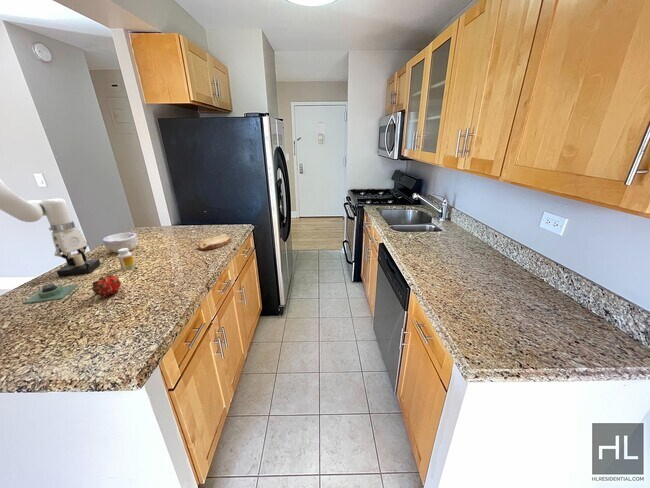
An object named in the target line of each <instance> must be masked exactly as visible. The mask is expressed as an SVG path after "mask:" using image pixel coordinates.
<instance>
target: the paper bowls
mask: <svg viewBox="0 0 650 488" xmlns="http://www.w3.org/2000/svg"><path fill="white" fill-rule="evenodd" d="M102 242H103V245H104V248H105V249H106V250H110V251H111V252H113V253H117V254H119V253H118V250H119V249H122V248H128V250H129V251H131V250H133V249H134V248H135V246H136V245H138V243H139V240H138V236H137V234H136V233H134V232H120V233H115V234H110V235H108V236H105V237H104V238H103V239H102Z"/></svg>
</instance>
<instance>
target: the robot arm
mask: <svg viewBox="0 0 650 488" xmlns="http://www.w3.org/2000/svg"><path fill="white" fill-rule="evenodd" d="M0 210H1V211H2V212H4V213H6V214H8V215H9V216H11V217H12V218H15V219H17V220H19V221H21V222H25V223H35V222H38V221H39V220H41V219H42V217H44V216H45V217H46V218H47V220H48V223H49V225H50V226H49V227H48V230H49V231H51V237H52V242H53V245H54V248H55V252H54V254H53V255H54V257H60V258H62V259H65V262H66V264H68V265H69V266H76V264H75V262H74V259H73V258H71V255H72V253H73V252H75V251H76V252H77V253H80V254H81V255H82V258H83V260H84V261H87V260H88V259H87V256H86V254H85V253H86V249H87V247H88V246H89V244H90V243H89V242H88V241H86V239H85V236H84V234H83V233H82V231H81V229H80V228H79V227H78V226H76V224H75V222H74V219H73V217H72V213H71V212H70V208H69V206H68V203H67V202H66V200H65V199H64V198H60V197H59V198H54V197H53V198H48V199H37V200H36V199H29V200H28V199H27V200H26V199H25V198H24V197H22V196H20V195H18V194H17V193H16V192H14V191H13V190H11V189H10V188H9V186H7V185H6V184H5V182H4V181H3V179H1V178H0Z"/></svg>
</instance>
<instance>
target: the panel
mask: <svg viewBox="0 0 650 488" xmlns="http://www.w3.org/2000/svg"><path fill="white" fill-rule="evenodd" d="M84 263H85V264H84V265H81V266H78V267H73V266H69V265H68V264H67V263H66V264H65V265H63V266H61V267H60V268H59V269H57V270H56V275H57V277H59V278H63V277H72V276H82V275H89V274H91V273H93V272H94V271H95V270H96V269H98V268H99V267H100V266H102V264H101V261H100V259H99V258H96V259H87V261H84Z"/></svg>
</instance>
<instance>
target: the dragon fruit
mask: <svg viewBox="0 0 650 488" xmlns="http://www.w3.org/2000/svg"><path fill="white" fill-rule="evenodd" d="M121 285H122V281H121V280H120V279H119V276H117V275H115V274H114V275H111V274H106V275H105V276H101V277H99V278H98V279H97V280H95V281H93V282H92V287H91V290H92V292H93V293H94V296H100V297H101V298H103V297H106V298H107V297H109V296H110V295H115V294H117V293H118V291H119V290H120V287H121Z"/></svg>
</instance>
